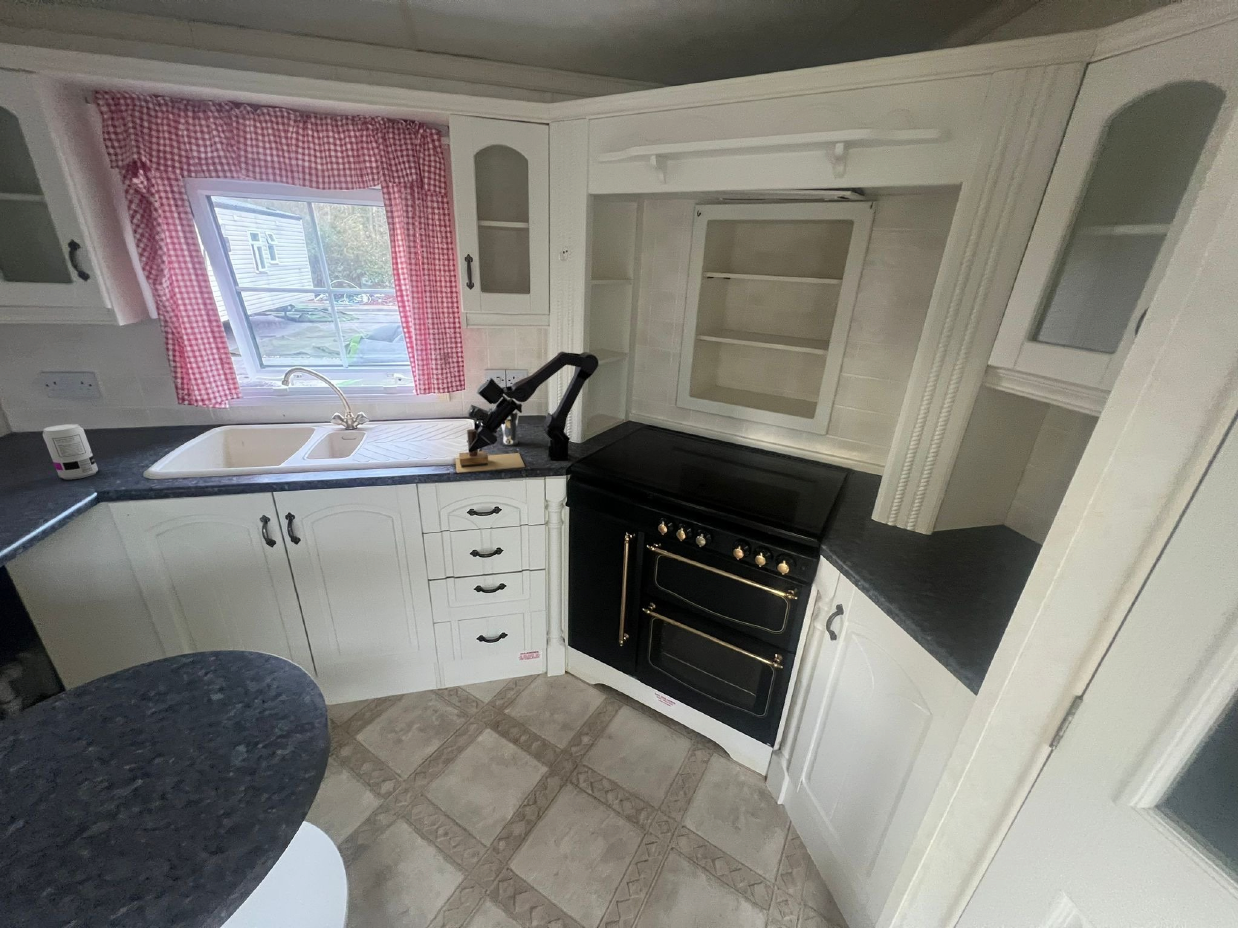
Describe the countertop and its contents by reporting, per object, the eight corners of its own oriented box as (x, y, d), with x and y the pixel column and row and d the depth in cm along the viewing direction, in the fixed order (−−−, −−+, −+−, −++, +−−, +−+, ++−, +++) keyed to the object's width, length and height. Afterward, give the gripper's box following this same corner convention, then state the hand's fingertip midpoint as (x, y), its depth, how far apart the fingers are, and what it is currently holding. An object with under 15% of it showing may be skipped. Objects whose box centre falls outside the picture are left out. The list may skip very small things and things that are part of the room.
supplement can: (51, 480, 144) (31, 431, 139) (75, 470, 152) (57, 423, 146) (83, 479, 145) (65, 431, 140) (106, 469, 153) (89, 423, 148)
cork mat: (518, 453, 179) (518, 452, 179) (524, 467, 167) (524, 466, 167) (455, 458, 172) (455, 457, 172) (456, 473, 160) (456, 472, 160)
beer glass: (521, 441, 193) (520, 403, 187) (516, 446, 186) (514, 408, 181) (504, 439, 193) (502, 402, 188) (498, 445, 187) (496, 406, 181)
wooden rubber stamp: (486, 459, 171) (484, 427, 167) (488, 465, 166) (486, 432, 162) (459, 461, 169) (456, 428, 164) (460, 467, 163) (457, 434, 159)
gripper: (479, 391, 169) (448, 424, 169) (484, 403, 152) (449, 440, 153) (504, 412, 174) (473, 444, 175) (511, 426, 158) (477, 462, 158)
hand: (468, 446), depth 165 cm, fingers open, 9 cm apart
